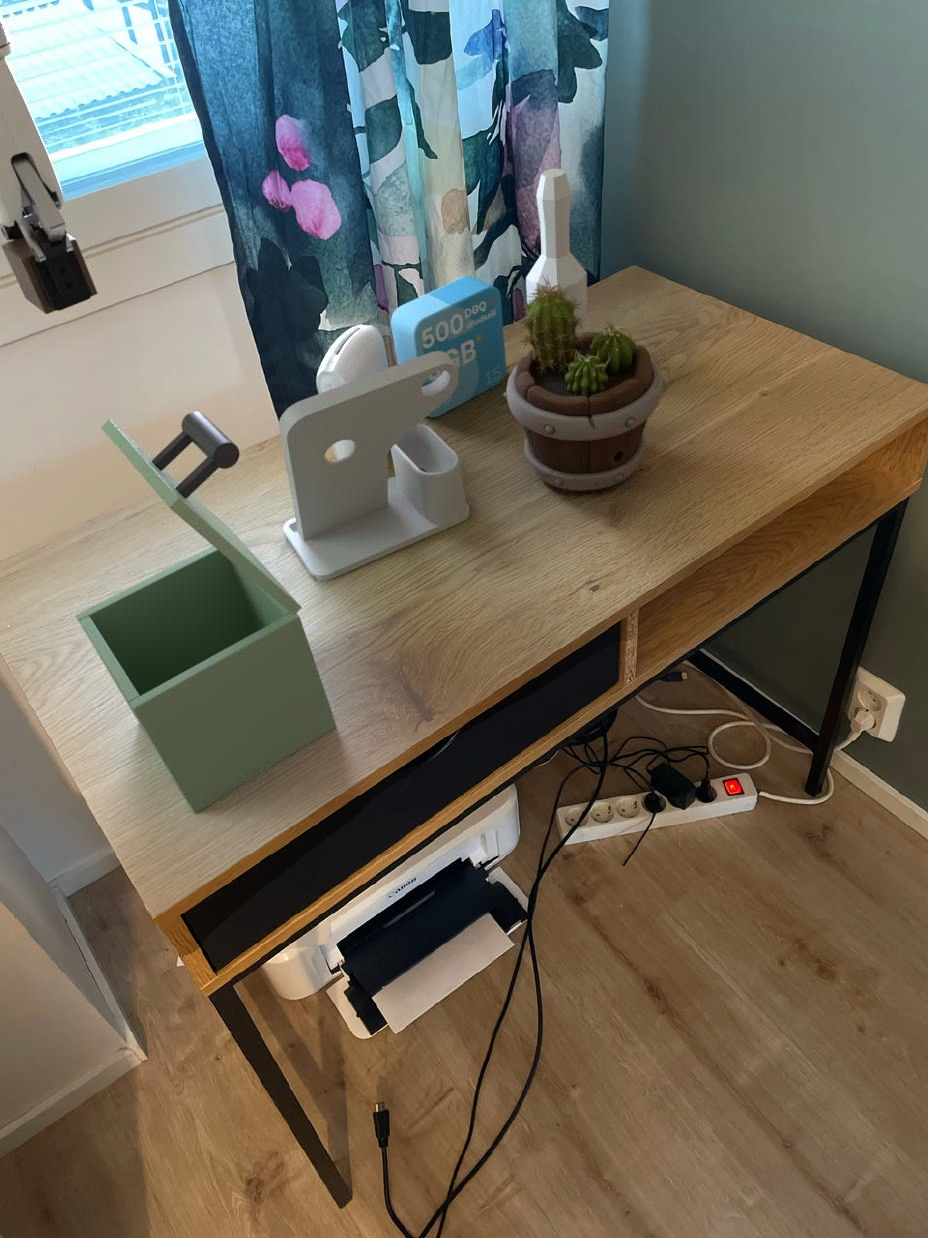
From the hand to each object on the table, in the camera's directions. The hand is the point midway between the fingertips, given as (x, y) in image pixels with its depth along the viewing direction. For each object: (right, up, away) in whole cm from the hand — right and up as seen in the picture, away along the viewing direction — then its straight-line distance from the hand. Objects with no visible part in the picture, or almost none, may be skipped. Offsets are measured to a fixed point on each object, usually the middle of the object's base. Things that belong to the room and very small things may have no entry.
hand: (59, 292), depth 73 cm
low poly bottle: (+44, +3, +34) cm, 56 cm away
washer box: (+14, -35, 0) cm, 38 cm away
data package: (+32, -1, +32) cm, 45 cm away
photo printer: (+22, -7, +27) cm, 36 cm away
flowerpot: (+46, -11, +20) cm, 51 cm away
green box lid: (+15, -20, -12) cm, 28 cm away
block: (0, 0, 0) cm, 0 cm away
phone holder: (+25, -17, +17) cm, 34 cm away
